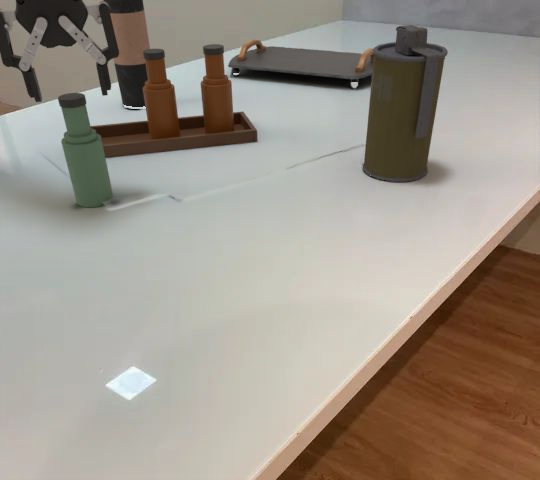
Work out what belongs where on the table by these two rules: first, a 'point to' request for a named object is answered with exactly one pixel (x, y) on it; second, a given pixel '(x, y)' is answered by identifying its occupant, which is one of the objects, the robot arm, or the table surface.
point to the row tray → (191, 137)
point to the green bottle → (84, 153)
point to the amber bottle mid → (159, 97)
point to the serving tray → (304, 61)
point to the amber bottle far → (216, 92)
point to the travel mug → (130, 49)
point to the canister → (403, 105)
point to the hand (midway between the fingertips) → (72, 97)
